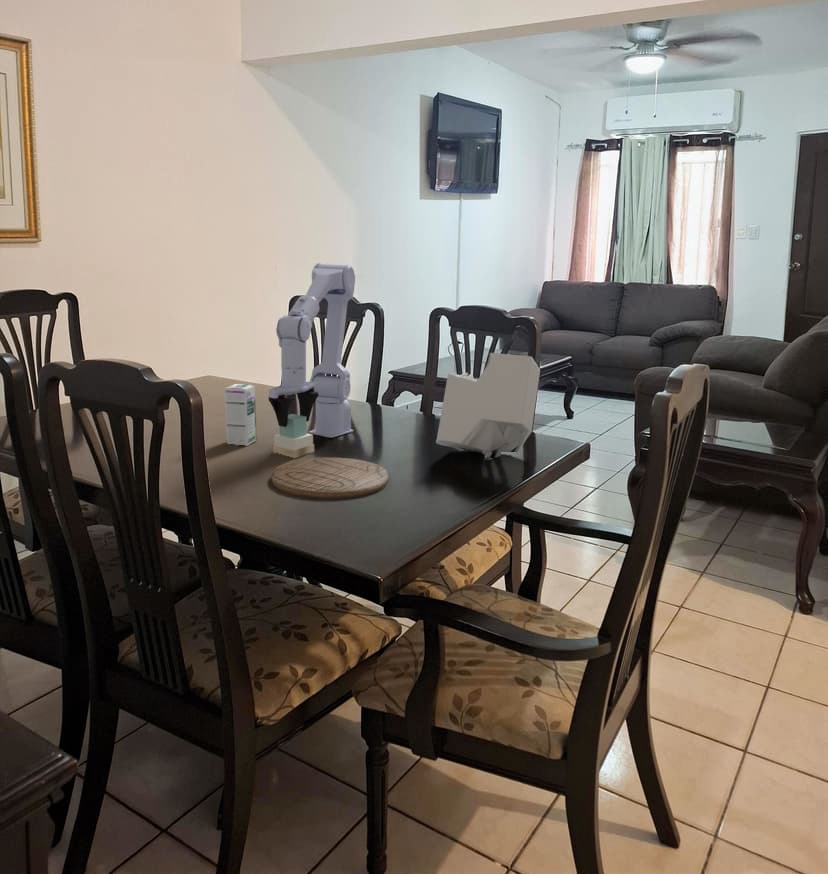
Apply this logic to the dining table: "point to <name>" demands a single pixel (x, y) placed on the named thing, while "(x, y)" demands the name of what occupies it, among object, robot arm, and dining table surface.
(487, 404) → the grey stepped panel block
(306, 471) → the trivet
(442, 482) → the dining table surface
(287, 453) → the tower base
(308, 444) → the tower top
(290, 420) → the teal cube
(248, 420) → the syrup box
